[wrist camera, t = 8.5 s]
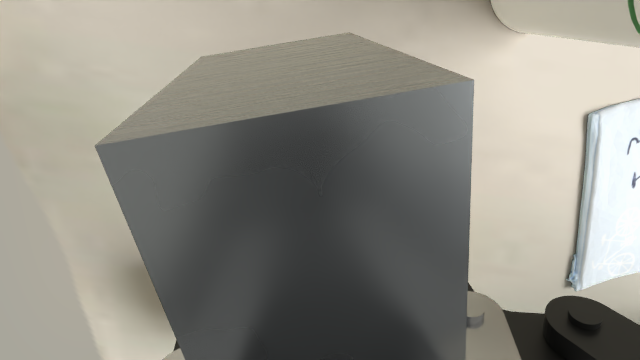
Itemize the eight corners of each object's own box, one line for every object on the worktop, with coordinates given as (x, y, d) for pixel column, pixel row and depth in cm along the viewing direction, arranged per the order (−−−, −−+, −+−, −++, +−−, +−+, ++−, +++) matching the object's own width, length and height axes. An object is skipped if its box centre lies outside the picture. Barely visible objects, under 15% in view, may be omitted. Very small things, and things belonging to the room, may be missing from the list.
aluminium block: (349, 32, 10) (474, 79, 4) (381, 346, 16) (458, 580, 9) (201, 56, 10) (95, 145, 4) (283, 366, 15) (294, 619, 9)
